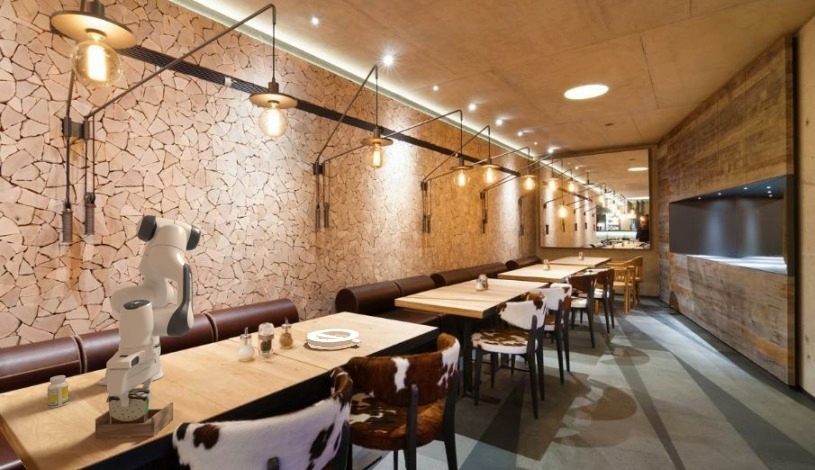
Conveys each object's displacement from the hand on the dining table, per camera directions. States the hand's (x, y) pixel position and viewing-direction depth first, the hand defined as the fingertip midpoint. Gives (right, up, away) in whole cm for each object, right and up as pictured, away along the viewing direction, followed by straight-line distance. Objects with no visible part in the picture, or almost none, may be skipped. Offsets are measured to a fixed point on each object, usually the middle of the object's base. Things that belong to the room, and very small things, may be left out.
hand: (136, 398), depth 120 cm
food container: (0, -8, 0) cm, 8 cm away
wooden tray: (0, -9, 0) cm, 9 cm away
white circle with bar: (+42, -10, +97) cm, 106 cm away
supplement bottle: (-39, -9, +17) cm, 43 cm away
